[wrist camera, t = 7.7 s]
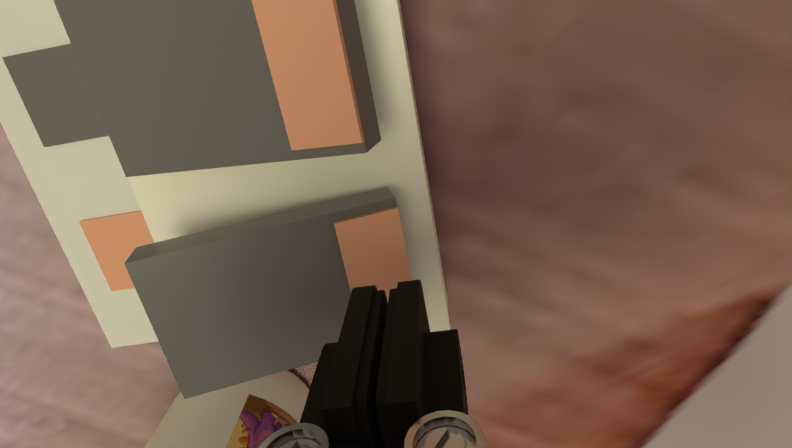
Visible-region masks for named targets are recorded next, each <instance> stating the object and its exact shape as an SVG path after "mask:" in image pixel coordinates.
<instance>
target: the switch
mask: <svg viewBox="0 0 792 448" xmlns="http://www.w3.org/2000/svg"><path fill="white" fill-rule="evenodd" d="M124 264H125V267H126V269H127V271H128V273H129V276H130V278H131V280H132V282H133V285H134V287H135V289H136V291H137V294H138V296H139V298H140V300H141V303H142V305H143V307H144V309H145V312H146V314H147V316H148V318H149V321H150V323H151V325H152V327H153V330H154V332H155V334H156V336H157V339H158V341H159V343H160V345H161V347H162V350H163V352H164V354H165V356H166V359H167V361H168V363H169V365H170V368H171V370H172V372H173V374H174V377H175V379H176V381H177V383H178V386H179V388H180V390H181V392H182V395H183V397H184V399H187V398H191V397H194V396H198V395H201V394H205V393H208V392H212V391H216V390H219V389H223V388H226V387H230V386H233V385H237V384H240V383H244V382H247V381H251V380H254V379H258V378H261V377H265V376H268V375H272V374H275V373H279V372H282V371H286V370H289V369H293V368H296V367H300V366H303V365H307V364H310V363H314V362H317V361H319V358H320V354H321V351H322V348H323V346H324V345H325V344H326V343H334V342H338V340H339V336H340V332H341V329H342V325H343V321H344V318H345V314H346V310H347V306H348V303H349V299H350V295H351V292H352V289H353V288H355V287H363V286H371V285H375V286H376V288H377V290H384V291H385V293H386V297H387V302H388V300H389V293H390V289H394V288H397V284H398V282H403V281H411V280H412V279H411V273H410V268H409V263H408V257H407V252H406V247H405V242H404V236H403V231H402V226H401V221H400V215H399V210H398V207H397V203H396V198H395V196H394V195H393V193H392V192H391V191H390V189H389V188H388V187H385V188H380V189H376V190H372V191H368V192H364V193H360V194H355V195H351V196H347V197H343V198H339V199H335V200H330V201H326V202H322V203H318V204H314V205H310V206H306V207H301V208H297V209H293V210H289V211H285V212H281V213H276V214H272V215H268V216H264V217H260V218H256V219H251V220H247V221H243V222H239V223H235V224H231V225H226V226H222V227H218V228H214V229H210V230H206V231H201V232H197V233H193V234H189V235H185V236H181V237H177V238H172V239H168V240H164V241H160V242H156V243H152V244H147V245H143V246H139V247H136V248H135V249H134V251H133V252H132V253H131V255H130V256H129V258H128V259H127V260H126V262H125V263H124Z"/></svg>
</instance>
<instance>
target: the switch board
mask: <svg viewBox="0 0 792 448" xmlns="http://www.w3.org/2000/svg"><path fill="white" fill-rule="evenodd" d="M354 1H355V6H356V11H357V17H358V22H359V27H360V32H361V37H362V43H363V48H364V53H365V58H366V63H367V69H368V74H369V79H370V84H371V89H372V95H373V100H374V105H375V110H376V115H377V120H378V126H379V131H380V136H381V141H380V142H379V143H377V144H376V145H375V146H374V147H373V148H372V149H370V150H369V151H368V152H367V153H360V154H350V155H340V156H330V157H321V158H311V159H301V160H291V161H281V162H271V163H261V164H251V165H241V166H231V167H221V168H212V169H202V170H192V171H182V172H172V173H162V174H152V175H142V176H132V177H126V176H125V174H124V171H123V169H122V166H121V164H120V161H119V159H118V157H117V154H116V152H115V149H114V147H113V144H112V142H111V140H110V137H109V135H108V132H107V130H106V127H105V125H104V123H103V120H102V118H101V115H100V113H99V110H98V108H97V106H96V103H95V101H94V98H93V96H92V93H91V91H90V89H89V86H88V84H87V81H86V79H85V76H84V74H83V72H82V69H81V67H80V64H79V62H78V59H77V57H76V54H75V52H74V50H73V47H72V45H71V42H70V40H69V37H68V35H67V33H66V30H65V28H64V25H63V23H62V20H61V18H60V16H59V13H58V11H57V8H56V6H55V3H54V1H53V0H0V123H1V125H2V127H3V129H4V131H5V133H6V135H7V137H8V139H9V141H10V143H11V145H12V147H13V149H14V151H15V153H16V155H17V157H18V159H19V161H20V163H21V165H22V167H23V169H24V171H25V173H26V175H27V177H28V179H29V181H30V183H31V186H32V188H33V190H34V192H35V194H36V196H37V198H38V200H39V202H40V204H41V206H42V208H43V210H44V212H45V214H46V216H47V218H48V220H49V222H50V224H51V226H52V228H53V230H54V232H55V234H56V236H57V238H58V240H59V242H60V244H61V246H62V248H63V250H64V252H65V254H66V256H67V258H68V260H69V263H70V265H71V267H72V269H73V271H74V273H75V275H76V277H77V279H78V281H79V283H80V285H81V287H82V289H83V291H84V293H85V295H86V297H87V299H88V301H89V303H90V305H91V307H92V309H93V311H94V313H95V315H96V317H97V319H98V321H99V323H100V325H101V327H102V329H103V331H104V333H105V335H106V337H107V340H108V342H109V344H110V346H111V348H113V347H121V346H128V345H135V344H143V343H150V342H157V341H158V339H157V336H156V334H155V332H154V330H153V327H152V325H151V323H150V321H149V318H148V316H147V314H146V312H145V309H144V307H143V305H142V303H141V300H140V298H139V296H138V294H137V291H136V289H135V287H134V285H133V282H132V280H131V278H130V276H129V273H128V271H127V269H126V267H125V264H124V263H125V262H126V260H127V259H128V258H129V256H130V255H131V253H132V252H133V251H134V249H135V248H136V247H139V246H143V245H147V244H152V243H156V242H160V241H164V240H168V239H172V238H177V237H181V236H185V235H189V234H193V233H197V232H201V231H206V230H210V229H214V228H218V227H222V226H226V225H231V224H235V223H239V222H243V221H247V220H251V219H256V218H260V217H264V216H268V215H272V214H276V213H281V212H285V211H289V210H293V209H297V208H301V207H306V206H310V205H314V204H318V203H322V202H326V201H330V200H335V199H339V198H343V197H347V196H351V195H355V194H360V193H364V192H368V191H372V190H376V189H380V188H385V187H388V188H389V189H390V191H391V192H392V193H393V195H394V196H395V198H396V203H397V207H398V210H399V215H400V221H401V226H402V231H403V236H404V242H405V247H406V252H407V257H408V263H409V268H410V273H411V279H412V280H419V279H420V280H421V284H422V289H423V294H424V300H425V305H426V311H427V316H428V322H429V327H430V332H435V331H444V330H450V322H449V314H448V306H447V302H448V301H447V294H446V287H445V281H444V275H443V268H442V262H441V256H440V250H439V243H438V237H437V231H436V225H435V218H434V212H433V206H432V199H431V193H430V187H429V181H428V174H427V168H426V162H425V156H424V149H423V143H422V137H421V131H420V124H419V118H418V112H417V105H416V99H415V93H414V87H413V80H412V74H411V68H410V62H409V55H408V49H407V43H406V37H405V30H404V24H403V18H402V11H401V5H400V0H354Z"/></svg>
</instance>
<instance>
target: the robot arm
mask: <svg viewBox="0 0 792 448" xmlns="http://www.w3.org/2000/svg"><path fill="white" fill-rule="evenodd" d="M259 448H489V447H488V444H487V441H486V438H485V435H484V432H483V430H482V429H481V427H480V425H479V423H477V422H476V421H475V420H474V419H473V418H472V417H471V416H469V415H468V405H467V395H466V385H465V377H464V369H463V362H462V355H461V349H460V342H459V336H458V331H457V329H453V330H444V331H435V332H430V327H429V322H428V316H427V311H426V305H425V300H424V294H423V289H422V284H421V280H420V279H419V280H411V281H403V282H398V284H397V288H394V289H390V293H389V300H388V302H387V297H386V293H385V291H384V290H377V288H376V286H375V285H371V286H363V287H355V288H353V289H352V292H351V295H350V299H349V303H348V306H347V310H346V314H345V318H344V321H343V325H342V329H341V332H340V336H339V340H338V342H334V343H326V344H325V345H324V346H323V348H322V351H321V354H320V358H319V361H318V364H317V367H316V371H315V374H314V377H313V380H312V383H311V387H310V390H309V393H308V396H307V400H306V403H305V406H304V409H303V412H302V416H301V419H300V422H299V423H297V424H292V425H289V426H286V427H283V428H281V429H279V430H278V431H276V432H274V433H273V434H271V435H270V436H269V437H268V438H267V439H266V440H265V441H263V443H262V444H261V445H260V447H259Z"/></svg>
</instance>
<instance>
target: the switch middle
mask: <svg viewBox="0 0 792 448" xmlns="http://www.w3.org/2000/svg"><path fill="white" fill-rule="evenodd" d="M53 1H54V3H55V6H56V8H57V11H58V13H59V16H60V18H61V20H62V23H63V25H64V28H65V30H66V33H67V35H68V37H69V40H70V42H71V45H72V47H73V50H74V52H75V54H76V57H77V59H78V62H79V64H80V67H81V69H82V72H83V74H84V76H85V79H86V81H87V84H88V86H89V89H90V91H91V93H92V96H93V98H94V101H95V103H96V106H97V108H98V110H99V113H100V115H101V118H102V120H103V123H104V125H105V127H106V130H107V132H108V135H109V137H110V140H111V142H112V144H113V147H114V149H115V152H116V154H117V157H118V159H119V161H120V164H121V166H122V169H123V171H124V174H125V176H126V177H132V176H142V175H152V174H162V173H172V172H182V171H192V170H202V169H212V168H221V167H231V166H241V165H251V164H261V163H271V162H281V161H291V160H301V159H311V158H321V157H330V156H340V155H350V154H360V153H367V152H368V151H369V150H370V149H372V148H373V147H374V146H375V145H376V144H377V143H379V142H380V141H381V136H380V131H379V126H378V120H377V115H376V110H375V105H374V100H373V95H372V89H371V84H370V79H369V74H368V69H367V63H366V58H365V53H364V48H363V43H362V37H361V32H360V27H359V22H358V17H357V11H356V6H355V1H354V0H53Z"/></svg>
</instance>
